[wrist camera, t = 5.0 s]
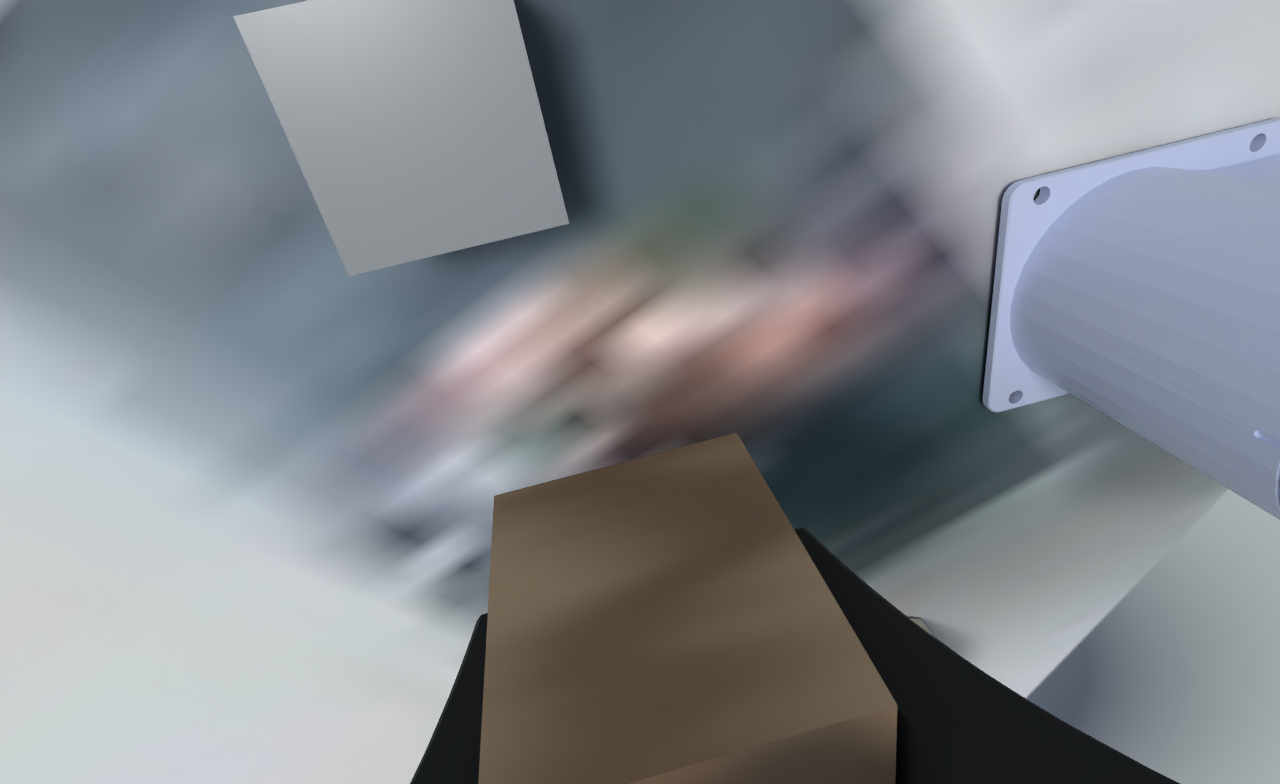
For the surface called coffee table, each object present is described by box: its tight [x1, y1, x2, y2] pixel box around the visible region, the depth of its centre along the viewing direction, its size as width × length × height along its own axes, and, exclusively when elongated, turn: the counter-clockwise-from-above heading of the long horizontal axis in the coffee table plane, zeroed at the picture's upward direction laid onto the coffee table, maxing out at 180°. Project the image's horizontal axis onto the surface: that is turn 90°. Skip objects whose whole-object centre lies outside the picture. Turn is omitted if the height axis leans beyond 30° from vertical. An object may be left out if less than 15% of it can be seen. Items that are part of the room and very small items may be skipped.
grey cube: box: [233, 0, 569, 276], centre depth 13 cm, size 4×4×4 cm
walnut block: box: [478, 433, 897, 784], centre depth 10 cm, size 4×4×6 cm
